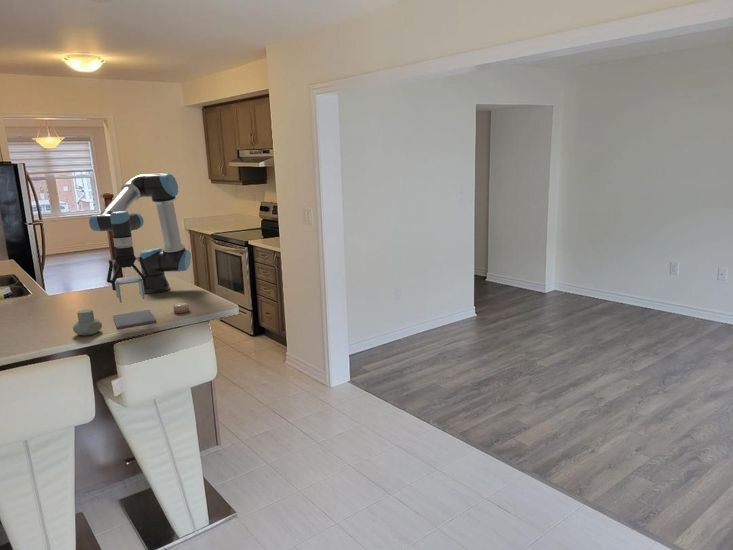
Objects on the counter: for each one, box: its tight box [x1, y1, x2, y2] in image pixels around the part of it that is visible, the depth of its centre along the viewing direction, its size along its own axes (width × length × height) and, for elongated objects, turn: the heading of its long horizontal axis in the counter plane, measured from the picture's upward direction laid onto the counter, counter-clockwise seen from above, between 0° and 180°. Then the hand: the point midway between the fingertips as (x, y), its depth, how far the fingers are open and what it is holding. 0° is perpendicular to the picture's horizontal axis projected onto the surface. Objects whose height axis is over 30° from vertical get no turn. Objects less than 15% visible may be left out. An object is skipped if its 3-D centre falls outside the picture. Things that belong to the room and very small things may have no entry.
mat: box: [112, 309, 157, 330], centre depth 238 cm, size 20×16×1 cm
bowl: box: [172, 302, 190, 314], centre depth 248 cm, size 7×7×4 cm
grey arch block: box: [115, 275, 145, 303], centre depth 235 cm, size 12×10×9 cm
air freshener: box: [72, 308, 103, 336], centre depth 221 cm, size 11×8×10 cm
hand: (130, 295), depth 236 cm, fingers closed on grey arch block, 10 cm apart
